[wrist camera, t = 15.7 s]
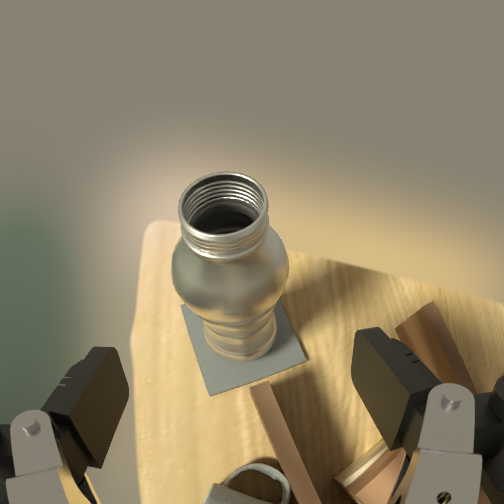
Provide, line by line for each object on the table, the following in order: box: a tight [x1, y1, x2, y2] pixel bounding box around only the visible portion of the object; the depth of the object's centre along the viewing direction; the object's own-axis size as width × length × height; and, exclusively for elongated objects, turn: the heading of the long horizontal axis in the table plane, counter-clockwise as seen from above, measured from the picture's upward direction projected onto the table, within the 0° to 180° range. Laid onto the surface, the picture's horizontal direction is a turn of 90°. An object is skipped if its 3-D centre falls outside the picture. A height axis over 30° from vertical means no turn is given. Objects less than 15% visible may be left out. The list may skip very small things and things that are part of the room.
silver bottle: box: [171, 172, 289, 363], centre depth 21 cm, size 6×7×20 cm
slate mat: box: [181, 299, 307, 396], centre depth 30 cm, size 10×10×1 cm
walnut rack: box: [250, 301, 491, 504], centre depth 18 cm, size 18×22×12 cm
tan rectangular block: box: [334, 438, 406, 504], centre depth 20 cm, size 12×5×6 cm, turn 124°
